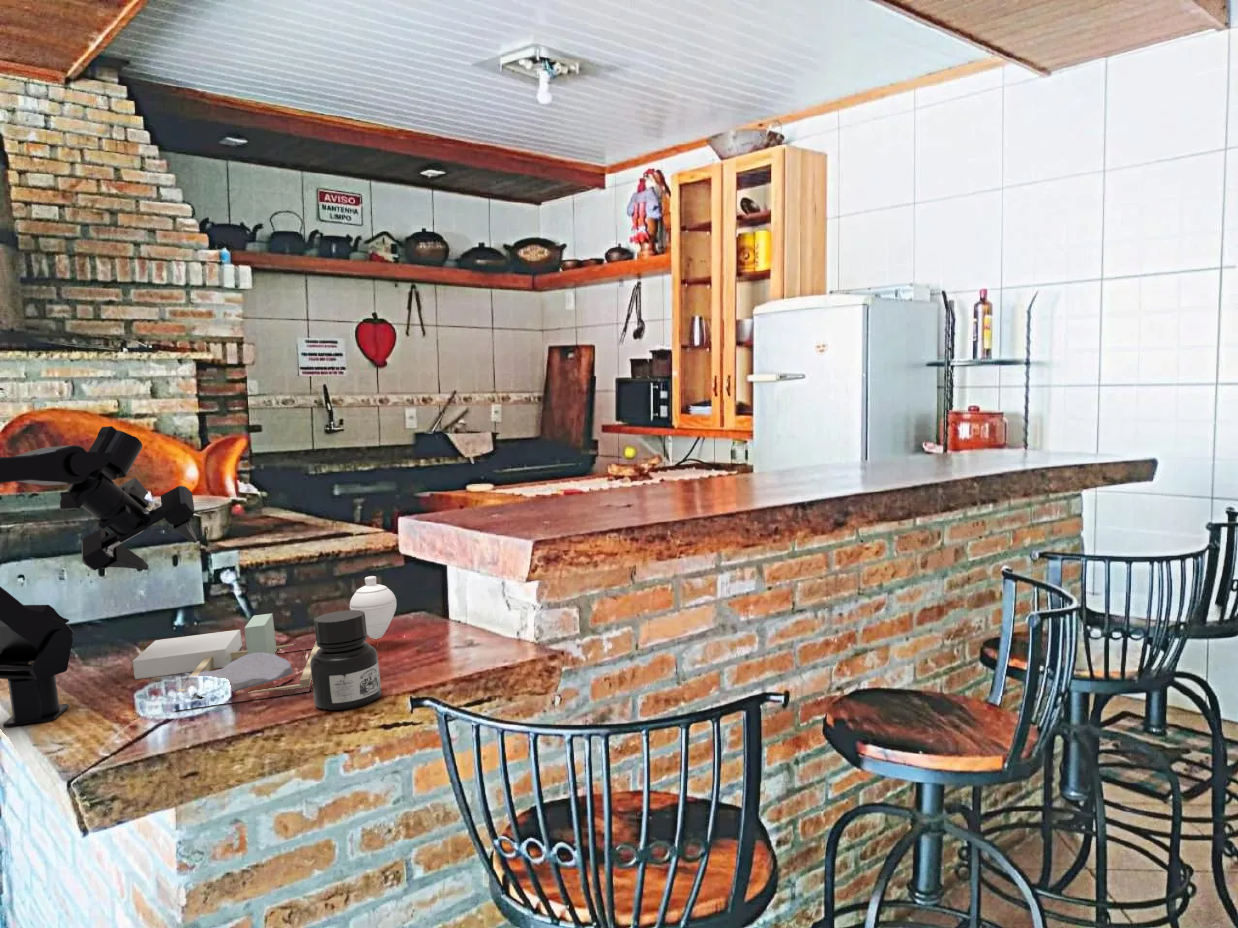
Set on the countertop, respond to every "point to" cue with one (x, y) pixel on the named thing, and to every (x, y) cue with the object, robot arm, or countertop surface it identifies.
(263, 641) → the rectangular block
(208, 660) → the rack
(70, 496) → the robot arm
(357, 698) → the ink bottle
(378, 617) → the spinning top
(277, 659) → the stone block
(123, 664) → the countertop surface
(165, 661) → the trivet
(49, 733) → the countertop surface
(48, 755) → the countertop surface
